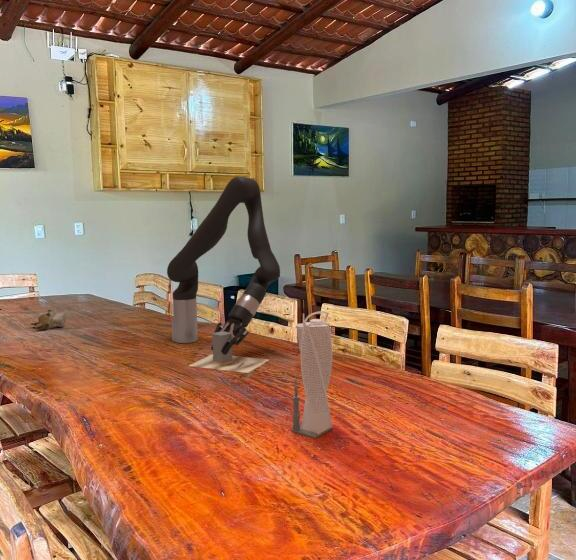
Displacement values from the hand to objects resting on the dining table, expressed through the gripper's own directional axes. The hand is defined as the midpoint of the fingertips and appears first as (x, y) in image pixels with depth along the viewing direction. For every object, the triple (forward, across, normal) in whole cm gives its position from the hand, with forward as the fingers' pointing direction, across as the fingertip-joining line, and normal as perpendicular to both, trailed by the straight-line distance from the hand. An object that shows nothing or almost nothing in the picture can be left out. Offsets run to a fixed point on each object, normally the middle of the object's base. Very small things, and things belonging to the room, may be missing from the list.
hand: (218, 351), depth 177 cm
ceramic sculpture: (+11, -106, -2) cm, 107 cm away
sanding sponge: (+2, 0, +4) cm, 5 cm away
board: (+2, +2, +6) cm, 7 cm away
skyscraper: (+16, +56, -8) cm, 59 cm away
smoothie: (-21, +7, +29) cm, 36 cm away
